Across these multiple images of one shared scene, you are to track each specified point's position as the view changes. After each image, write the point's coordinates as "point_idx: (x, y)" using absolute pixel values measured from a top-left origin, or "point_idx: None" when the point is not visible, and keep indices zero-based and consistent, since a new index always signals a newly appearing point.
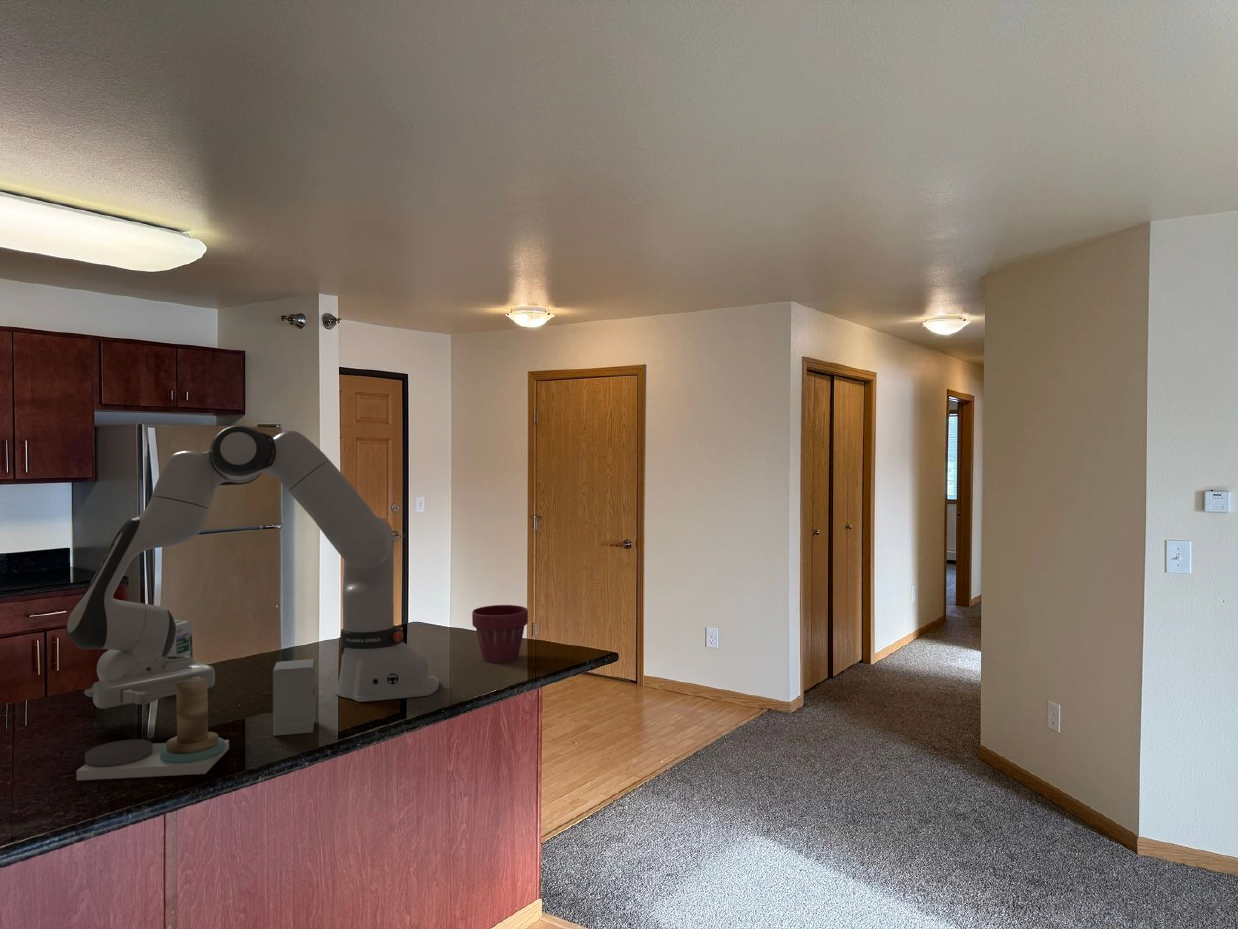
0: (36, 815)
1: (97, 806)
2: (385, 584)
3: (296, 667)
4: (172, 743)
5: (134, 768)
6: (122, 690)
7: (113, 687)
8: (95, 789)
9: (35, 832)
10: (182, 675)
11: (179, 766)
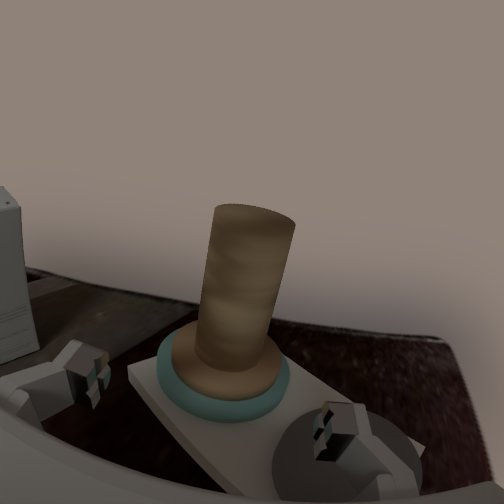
0: (444, 378)
1: (386, 356)
2: None
3: (2, 192)
4: (270, 360)
5: (336, 392)
6: (418, 492)
7: (467, 488)
8: (388, 404)
9: (435, 346)
10: (39, 429)
11: None
